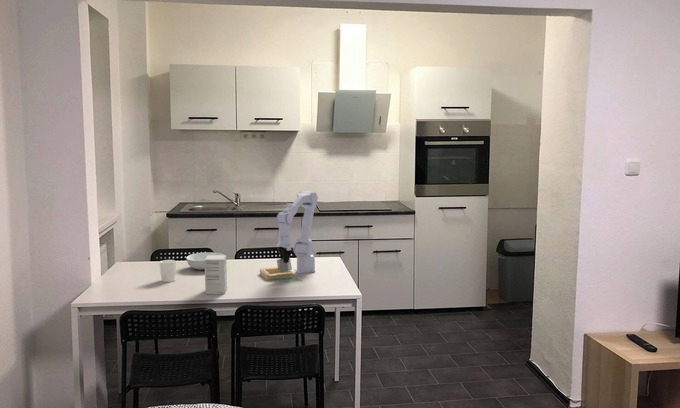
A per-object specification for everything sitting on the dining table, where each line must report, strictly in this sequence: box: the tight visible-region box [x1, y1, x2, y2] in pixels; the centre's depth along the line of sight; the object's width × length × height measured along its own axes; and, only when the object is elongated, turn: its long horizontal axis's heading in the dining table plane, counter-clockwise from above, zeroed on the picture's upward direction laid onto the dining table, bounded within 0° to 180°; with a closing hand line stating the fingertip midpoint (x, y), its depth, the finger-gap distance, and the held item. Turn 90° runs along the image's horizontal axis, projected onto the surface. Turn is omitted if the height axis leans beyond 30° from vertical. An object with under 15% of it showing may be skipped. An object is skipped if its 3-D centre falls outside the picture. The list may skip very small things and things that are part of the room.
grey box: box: [276, 257, 293, 272], centre depth 289 cm, size 6×4×6 cm
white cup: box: [159, 259, 177, 283], centre depth 288 cm, size 8×8×10 cm
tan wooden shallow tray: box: [259, 266, 294, 281], centre depth 297 cm, size 14×17×3 cm
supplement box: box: [204, 254, 228, 295], centre depth 267 cm, size 10×9×17 cm
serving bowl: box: [185, 251, 224, 271], centre depth 315 cm, size 21×21×7 cm
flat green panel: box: [274, 276, 303, 284], centre depth 288 cm, size 12×9×1 cm
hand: (284, 261), depth 289 cm, fingers closed on grey box, 4 cm apart
